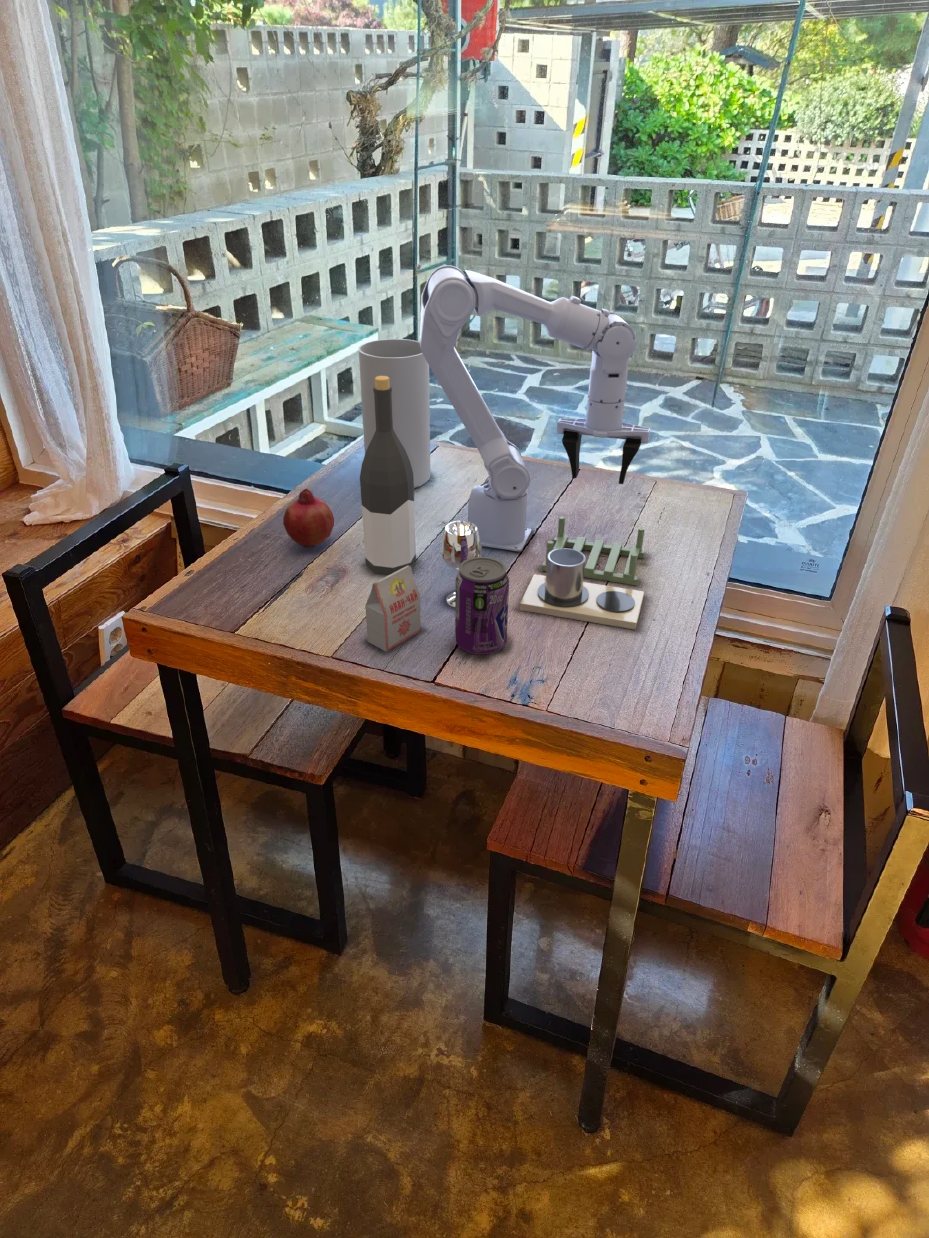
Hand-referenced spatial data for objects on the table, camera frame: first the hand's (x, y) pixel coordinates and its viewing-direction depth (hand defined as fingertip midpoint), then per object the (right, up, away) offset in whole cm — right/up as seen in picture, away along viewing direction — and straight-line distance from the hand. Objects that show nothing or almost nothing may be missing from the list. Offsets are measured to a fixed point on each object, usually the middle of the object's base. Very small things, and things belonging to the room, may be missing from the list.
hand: (598, 478), depth 135 cm
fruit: (-48, -11, +2) cm, 49 cm away
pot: (-7, -19, -13) cm, 24 cm away
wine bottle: (-34, -14, -3) cm, 37 cm away
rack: (-1, -14, -2) cm, 14 cm away
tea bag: (-32, -26, -20) cm, 46 cm away
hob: (-4, -21, -13) cm, 25 cm away
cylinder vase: (-35, +4, +25) cm, 43 cm away
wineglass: (-22, -20, -12) cm, 33 cm away
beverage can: (-20, -27, -22) cm, 40 cm away
